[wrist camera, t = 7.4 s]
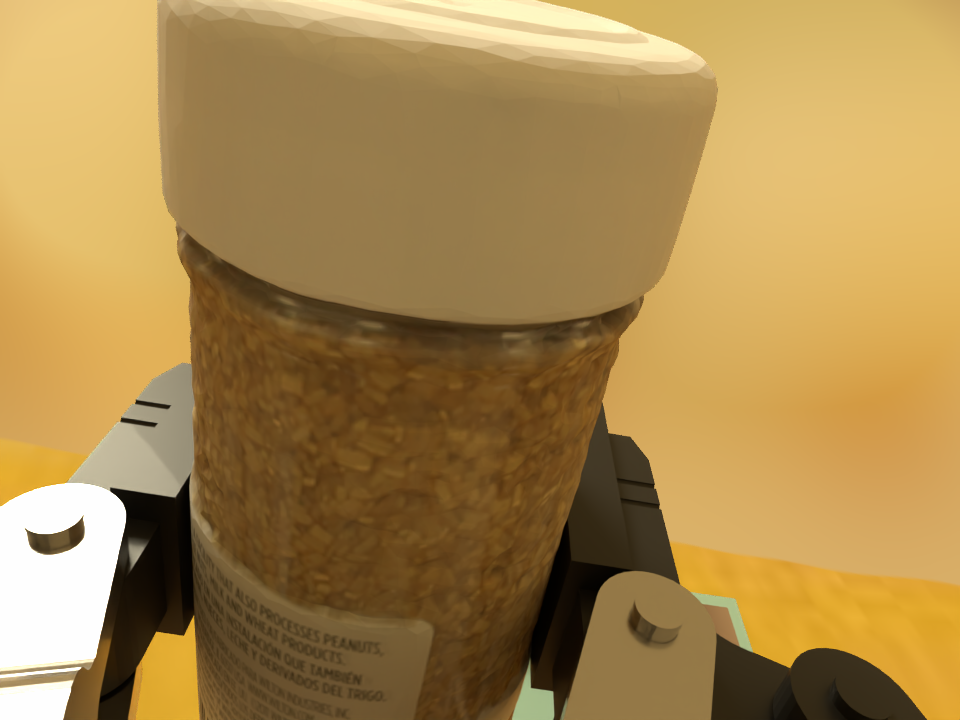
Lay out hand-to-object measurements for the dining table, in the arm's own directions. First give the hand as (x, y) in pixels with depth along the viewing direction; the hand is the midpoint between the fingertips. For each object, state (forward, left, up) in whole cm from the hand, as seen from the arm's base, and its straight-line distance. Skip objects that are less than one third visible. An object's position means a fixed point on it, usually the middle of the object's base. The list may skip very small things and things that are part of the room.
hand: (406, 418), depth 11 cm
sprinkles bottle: (0, -3, -7) cm, 8 cm away
